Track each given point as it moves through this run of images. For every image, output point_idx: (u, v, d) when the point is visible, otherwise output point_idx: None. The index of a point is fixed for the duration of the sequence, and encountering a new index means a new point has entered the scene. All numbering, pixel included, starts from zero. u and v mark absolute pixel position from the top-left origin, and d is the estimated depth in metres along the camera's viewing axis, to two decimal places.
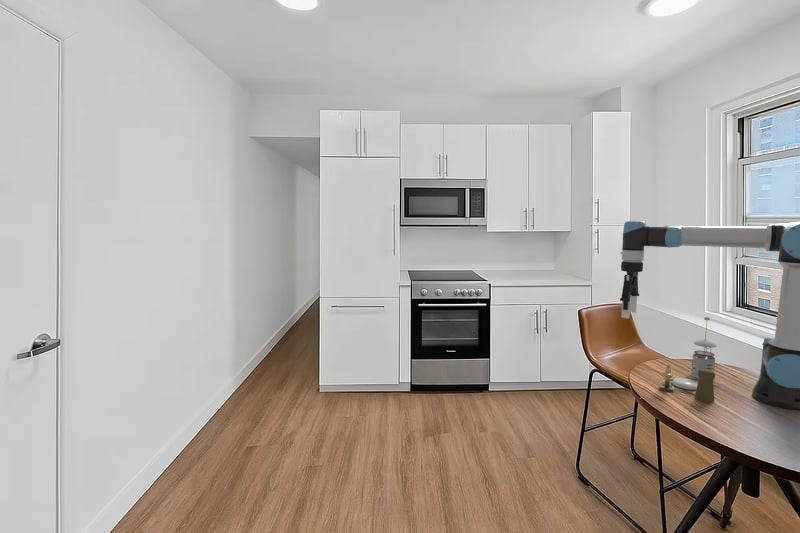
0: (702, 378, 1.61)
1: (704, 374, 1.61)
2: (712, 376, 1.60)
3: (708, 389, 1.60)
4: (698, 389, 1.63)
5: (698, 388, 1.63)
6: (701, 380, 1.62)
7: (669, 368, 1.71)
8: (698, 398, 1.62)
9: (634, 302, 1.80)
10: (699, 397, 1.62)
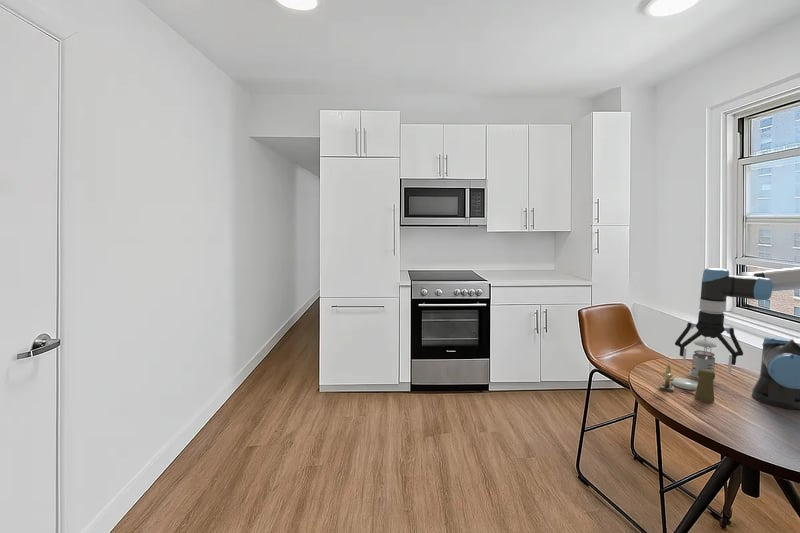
0: (702, 378, 1.61)
1: (704, 374, 1.61)
2: (712, 376, 1.60)
3: (708, 389, 1.60)
4: (698, 389, 1.63)
5: (698, 388, 1.63)
6: (701, 380, 1.62)
7: (669, 368, 1.71)
8: (698, 398, 1.62)
9: None
10: (699, 397, 1.62)
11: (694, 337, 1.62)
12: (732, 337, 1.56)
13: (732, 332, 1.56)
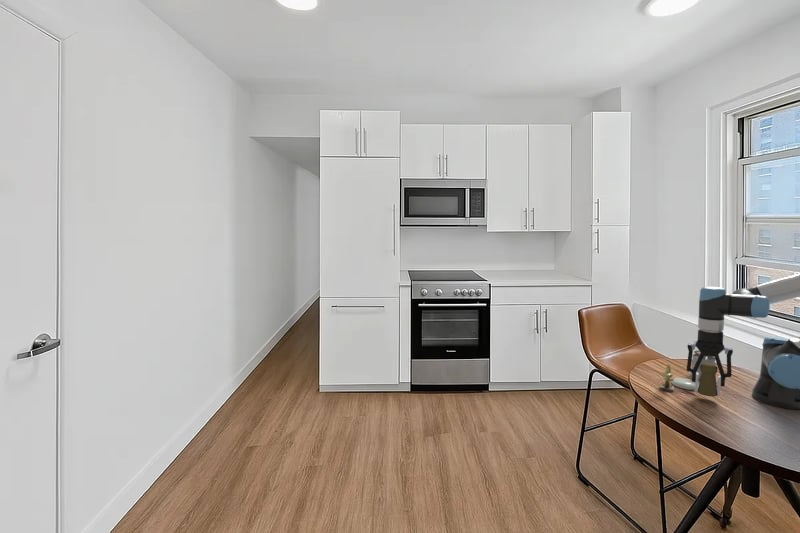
0: (704, 372, 1.61)
1: (706, 368, 1.60)
2: (714, 370, 1.59)
3: (711, 383, 1.60)
4: (701, 383, 1.62)
5: (701, 382, 1.62)
6: (703, 374, 1.61)
7: (669, 368, 1.71)
8: (701, 392, 1.62)
9: (718, 383, 1.60)
10: (702, 391, 1.62)
11: (700, 359, 1.62)
12: (728, 358, 1.57)
13: (730, 354, 1.57)
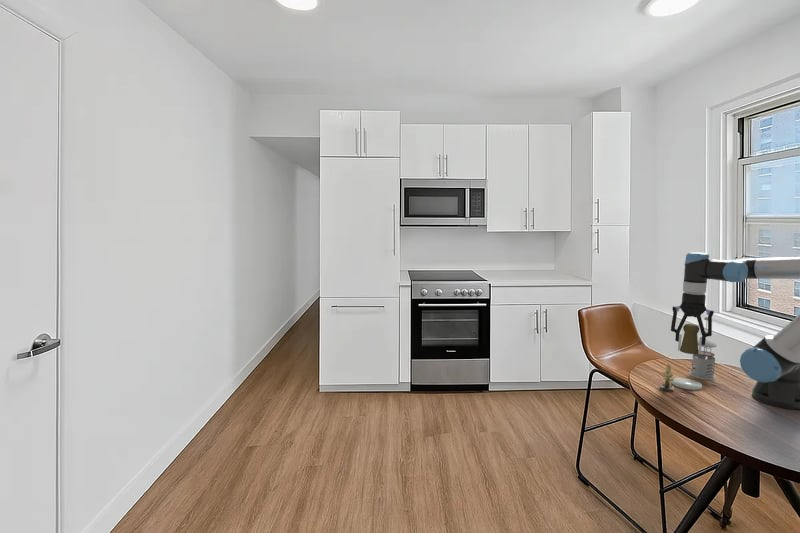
0: (687, 332, 1.73)
1: (689, 327, 1.72)
2: (696, 329, 1.71)
3: (692, 342, 1.72)
4: (683, 342, 1.75)
5: (683, 341, 1.75)
6: (686, 334, 1.74)
7: (669, 368, 1.71)
8: (683, 351, 1.74)
9: (699, 342, 1.72)
10: (684, 349, 1.74)
11: (683, 320, 1.74)
12: (709, 318, 1.69)
13: (711, 314, 1.69)
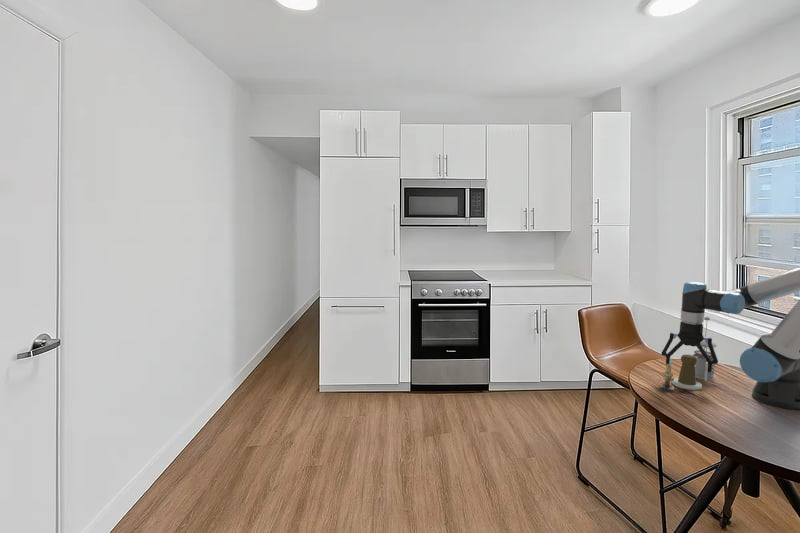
0: (684, 363, 1.75)
1: (686, 358, 1.74)
2: (694, 361, 1.73)
3: (690, 373, 1.74)
4: (681, 373, 1.76)
5: (681, 372, 1.76)
6: (684, 365, 1.75)
7: (669, 368, 1.71)
8: (681, 381, 1.75)
9: (705, 369, 1.72)
10: (681, 380, 1.75)
11: (677, 346, 1.76)
12: (709, 346, 1.70)
13: (710, 342, 1.70)
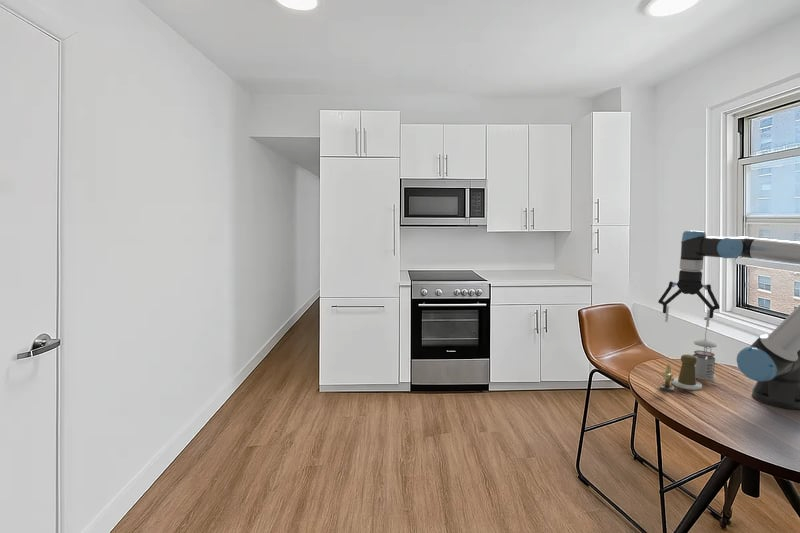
0: (684, 363, 1.75)
1: (686, 359, 1.74)
2: (693, 361, 1.73)
3: (690, 373, 1.74)
4: (681, 373, 1.76)
5: (681, 372, 1.76)
6: (684, 365, 1.75)
7: (669, 368, 1.71)
8: (681, 381, 1.75)
9: (707, 316, 1.72)
10: (681, 380, 1.75)
11: (675, 295, 1.77)
12: (709, 292, 1.71)
13: (709, 288, 1.71)
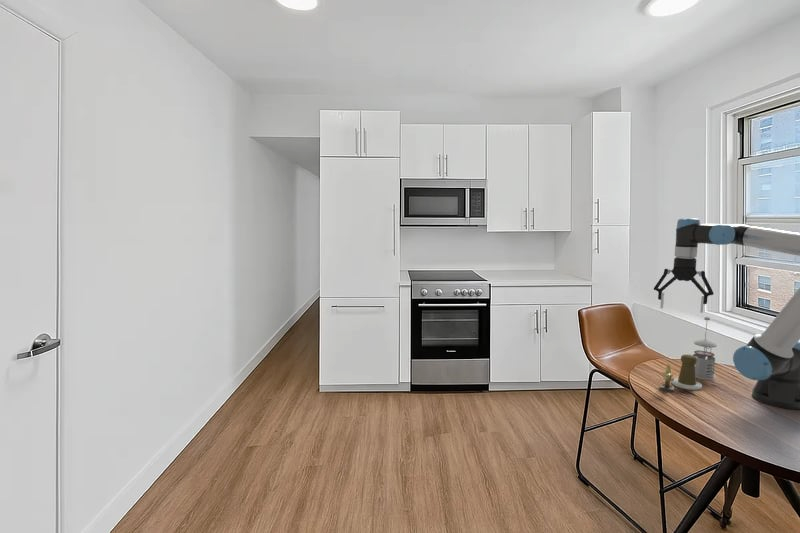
0: (684, 363, 1.74)
1: (686, 359, 1.74)
2: (693, 361, 1.73)
3: (690, 373, 1.74)
4: (681, 373, 1.76)
5: (681, 372, 1.76)
6: (684, 365, 1.75)
7: (669, 368, 1.71)
8: (681, 381, 1.75)
9: (701, 302, 1.76)
10: (681, 380, 1.75)
11: (670, 281, 1.81)
12: (703, 279, 1.74)
13: (703, 274, 1.74)
